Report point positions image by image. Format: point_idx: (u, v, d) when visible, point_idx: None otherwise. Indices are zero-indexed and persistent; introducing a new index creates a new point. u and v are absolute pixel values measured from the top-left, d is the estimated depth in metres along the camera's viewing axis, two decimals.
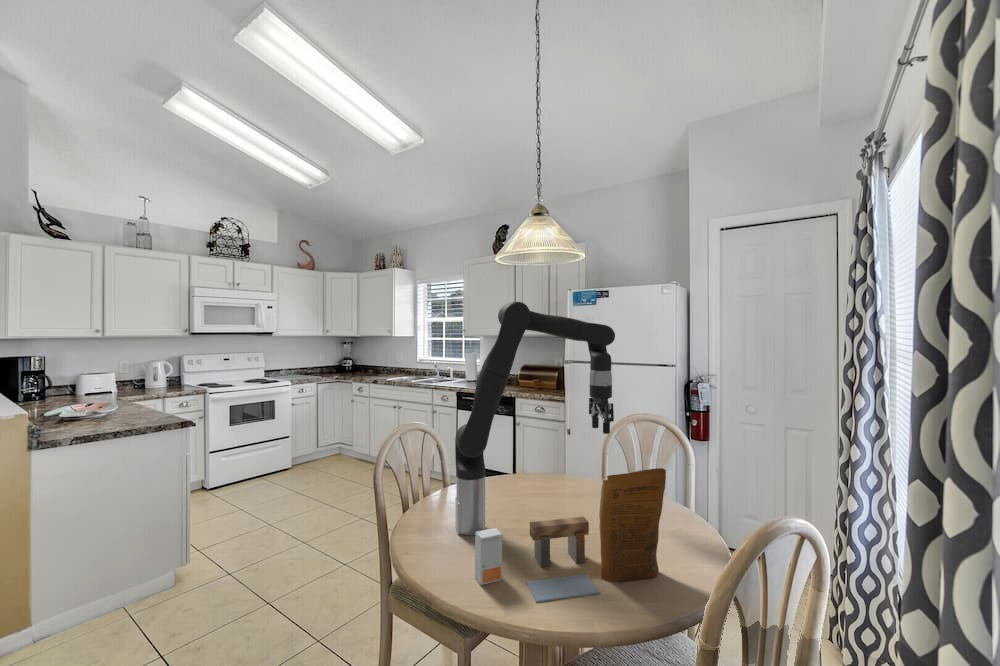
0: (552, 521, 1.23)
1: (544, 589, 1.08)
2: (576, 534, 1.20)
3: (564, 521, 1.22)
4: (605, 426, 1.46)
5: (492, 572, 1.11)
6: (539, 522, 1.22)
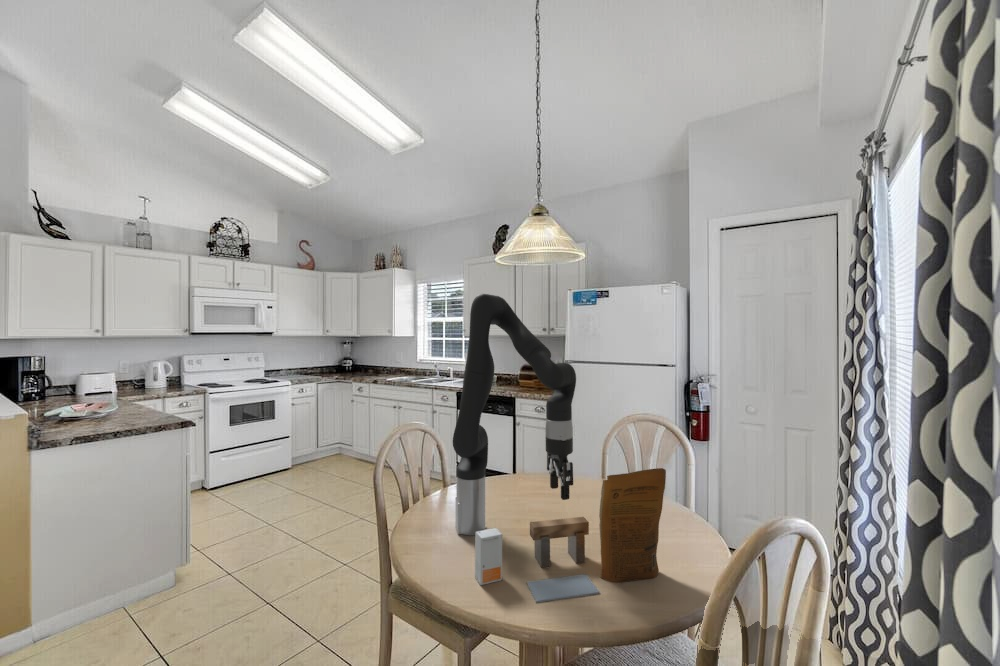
0: (552, 521, 1.23)
1: (544, 589, 1.08)
2: (576, 534, 1.20)
3: (564, 521, 1.22)
4: (563, 490, 1.17)
5: (492, 572, 1.11)
6: (539, 522, 1.22)
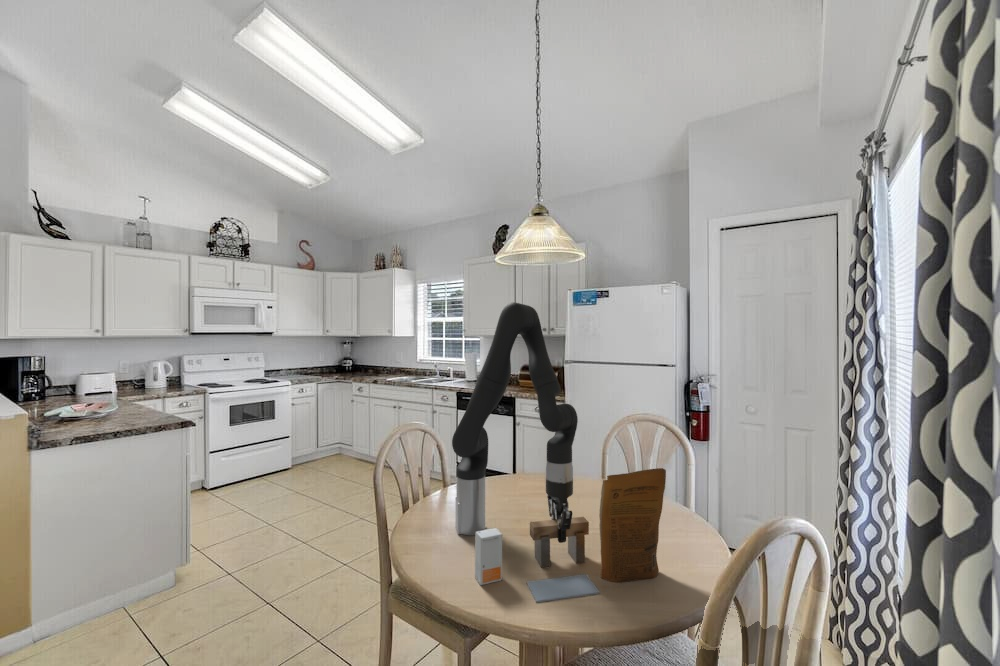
0: (552, 521, 1.23)
1: (544, 589, 1.08)
2: (576, 534, 1.20)
3: None
4: (560, 533, 1.20)
5: (492, 572, 1.11)
6: (539, 522, 1.22)
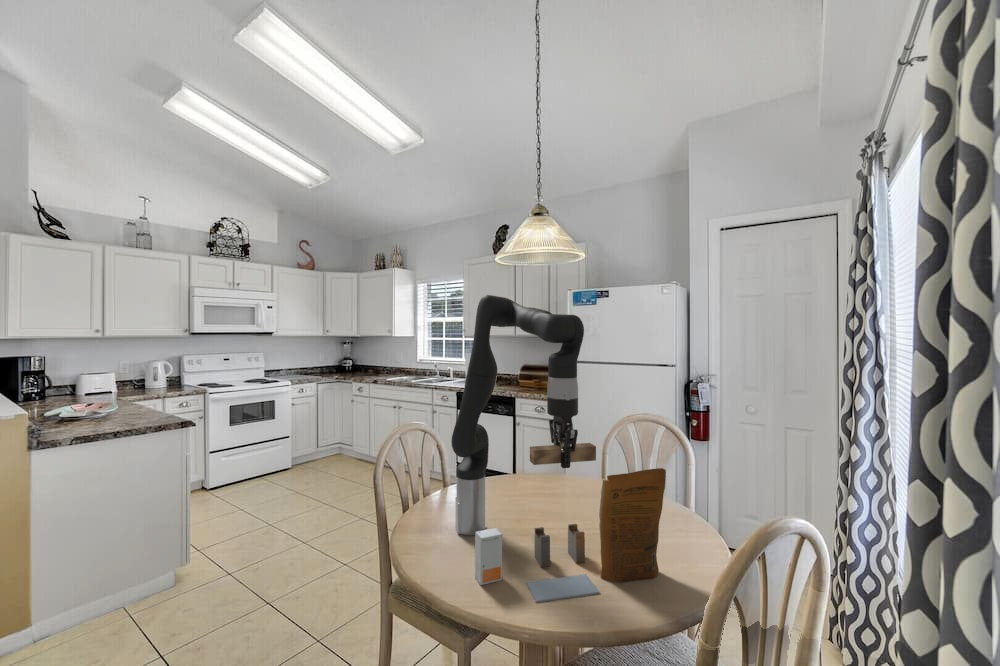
0: (555, 446, 1.09)
1: (544, 589, 1.08)
2: (576, 534, 1.20)
3: None
4: (563, 457, 1.06)
5: (492, 572, 1.11)
6: (540, 446, 1.08)
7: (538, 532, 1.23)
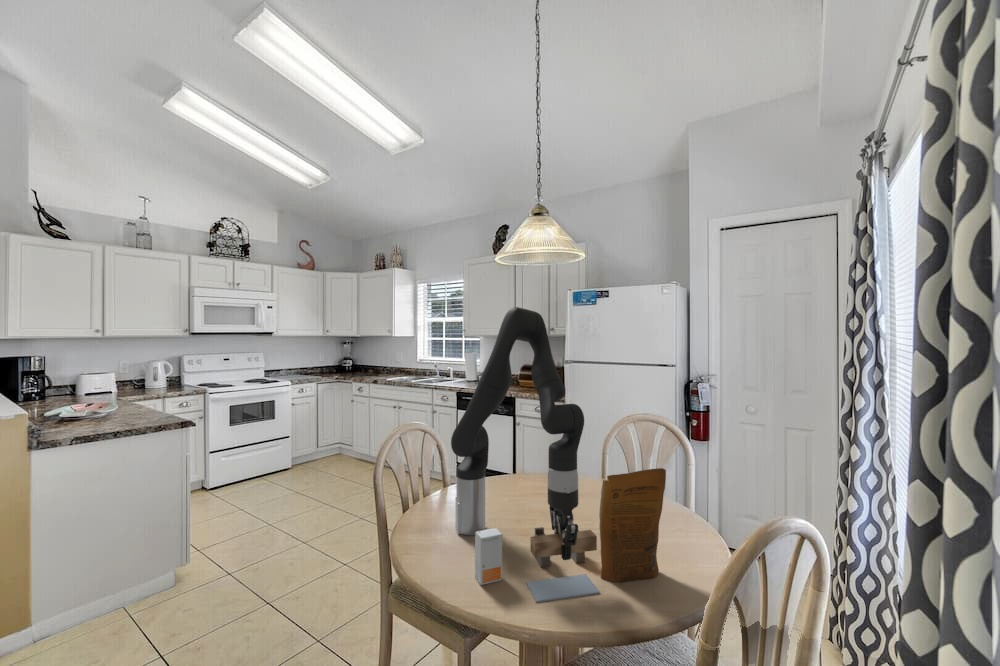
0: (555, 535, 1.09)
1: (544, 589, 1.08)
2: None
3: None
4: (564, 549, 1.06)
5: (492, 572, 1.11)
6: (541, 537, 1.08)
7: (538, 532, 1.23)
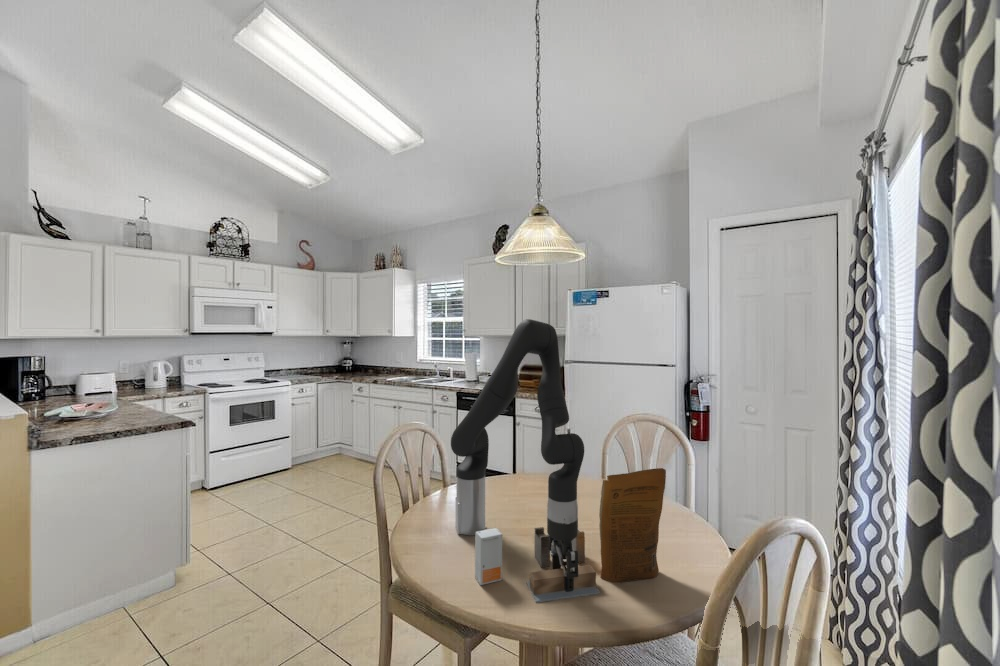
0: (555, 571, 1.09)
1: None
2: None
3: None
4: (566, 581, 1.04)
5: (492, 572, 1.11)
6: (540, 572, 1.09)
7: (538, 532, 1.23)
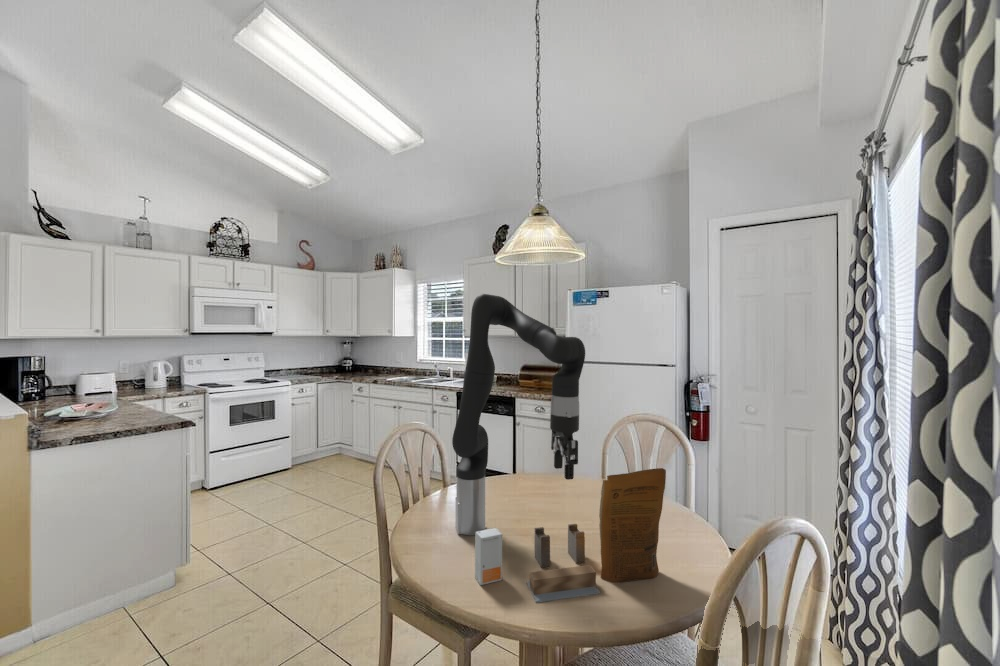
0: (555, 571, 1.09)
1: None
2: (576, 534, 1.20)
3: (568, 572, 1.09)
4: (567, 469, 1.12)
5: (492, 572, 1.11)
6: (540, 572, 1.09)
7: (538, 532, 1.23)
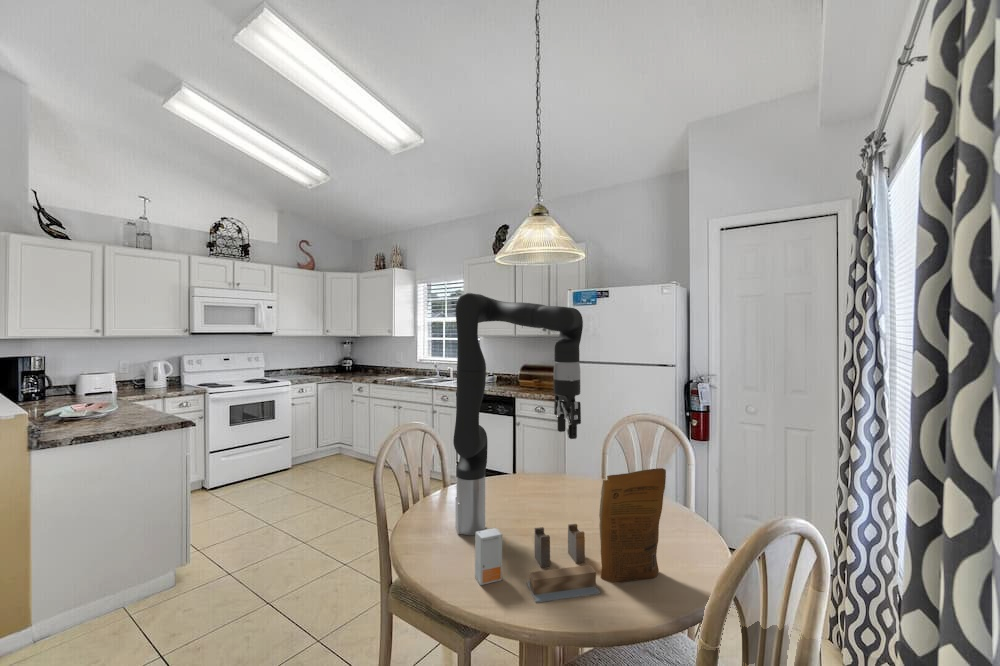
0: (555, 571, 1.09)
1: None
2: (576, 534, 1.20)
3: (568, 572, 1.09)
4: (570, 429, 1.20)
5: (492, 572, 1.11)
6: (540, 572, 1.09)
7: (538, 532, 1.23)
